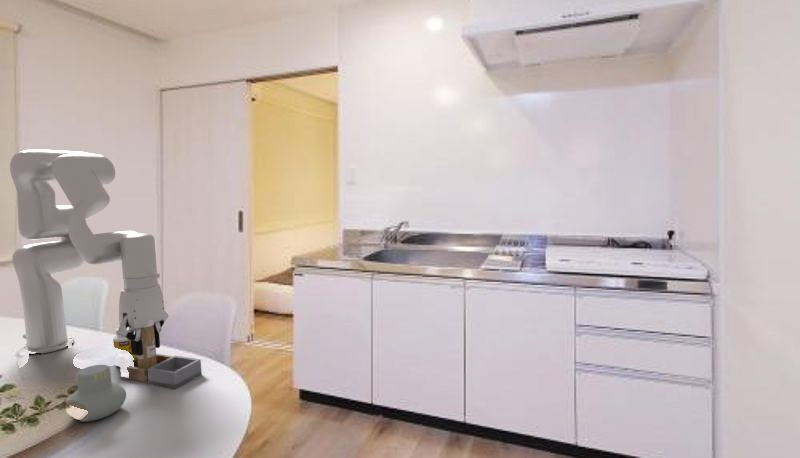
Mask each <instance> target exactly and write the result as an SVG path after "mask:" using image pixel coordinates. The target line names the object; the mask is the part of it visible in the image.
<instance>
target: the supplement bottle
mask: <svg viewBox="0 0 800 458" xmlns="http://www.w3.org/2000/svg"><path fill="white" fill-rule="evenodd" d="M118 329H119V327H117V328H116V329H115V336H114V337H113V348H114V347H115V348H118V349H121V350H126V351H128V352H129V353H130V354H131V355H132V356H133V358H134V360H135V359H137V355H133V354H132V351H131V341H130V340H128V339H127V338H126V337H124V336H122V335H119V334H117V331H118ZM127 331H129V327H127ZM134 335H135V332H134Z"/></svg>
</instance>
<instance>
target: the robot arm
mask: <svg viewBox="0 0 800 458" xmlns="http://www.w3.org/2000/svg"><path fill="white" fill-rule="evenodd" d="M9 172H10V175H11V178H12V179H11V180H12V181H13V184H14V186H15V190H16V193H17V196H16V197H17V221H18V222H17V225H18V230H19V233H20V235H21V237H22V238H24V239H25V240H30V241H39V240H48V239H58V238H61V240H55V241H45V242H44V241H43V242H37V243H30V244H26V245H23V246H20V247H18V248H17V249H16V250H15V251H14V252H13V254H12V257H11V258H12V259H11V260H12V264H13V268H14V271H15V274H16V276H17V279H18V284H19V288H20V296H21V304H22V311H23V319H24V321H23V322H24V328H25V333H24V334H23V335H22V338H23V339H24V340H25V339H26V344H24V345H23V346H21V348H20V351H21V350H28V351H31V352H36V353H41V354H48V353H52V352H56V351H59V350H63V349H65V348H67V347H66V345H67V343H68V342H69V341H71V340H72V341H73V343H74V342H75V337H73V336H70V335H68V332H67V331H68V330H67V324H66V323H67V322H66V313H65V305H64V303H65V302H64V295H63V288H62V285H61V284H60V283H59V282H58V280H56V279H55V278H54V277H52V275H53V274H56V273H62V272H67V271H71V270H72V271H73V270H77V269H79V268H80V267H82V266H83V264H84V263H85V262H86V263H87V264H90V265H101V264H102V265H103V264H107V263H113V262H118V261H121V267H122V268H121V269H122V279H123V280H122V281H123V283H122V284H123V289H122V290H120V294H119V301H118V322H119V323H118V324H119V326H118V328H119V329H118V331H117V334H119V335H122V336H124V337H126V338H127V339H128V340H130V341H131V351H132V354H133V355H139V356H141V355H143V345H142V340H140V333H141V328H143V327H145V326H146V325H147V323H148V321H149V320H153V322H154V336H155V345H156V349H159V348H160V347H161V340H160V339H161V338H160V333H161V331H162V327H163V325H164V324H165V322H166V321H167V320H168V318H169V314H168V312H166V310H165V301H164V296H163V292H162V291H163V290H162V288H161V285H160V284H159V282H158V281H159V280H158V279H159V278H161V275H160V274H159V273H158V270H157V269H158V268H157V267H158V266H157V265H158V264H157V255H156V254H157V253H156V251H157V250H156V241H155V237H154V235H152V234H151V233H148V232H147V233H146V232H145V233H143V232H141V233H140V232H137V231H135V230H119V231H118V230H117V231H110V232H109V231H108V232H102V233H101V232H100V233H93V232H92V231H91V228H90V227H89V225H88V224H87V221H86V220H87V219H88V218H90V217H92V216H94V215H97V214H98V213H100V212H101V211H103V210H105V208H106V207H107V206H108V205H109V203H110V201H111V198H110V197H111V196H110V195H109V193H108V191H107V190H106V188H105V187H104V185H108V184H111V183H112V182H113V181H114V180H115V177H116V167H115V166H114V164H113V162H112V161H111V160H110V159H109V158H108V157H106V156H105V155H102V154H97V153H90V152H84V151H77V150H76V151H73V150H53V149H25V150H20V151H18V152H16V153H14V154H13V156H12V157H11V159H10V163H9ZM48 181H49V182H50V181H56V182H58V185H59V186H60V188H61V190H62V192H63V193H64V194H65V196H66V198H67V199H68V201H69V203H70V204H71V205H69V204H68V205H57V204H56V192H55V189H54V187H52V185H51V184H50V183H49V182H48ZM127 327H129V331H127ZM134 333H135V335H134ZM41 354H40V355H41Z"/></svg>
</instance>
